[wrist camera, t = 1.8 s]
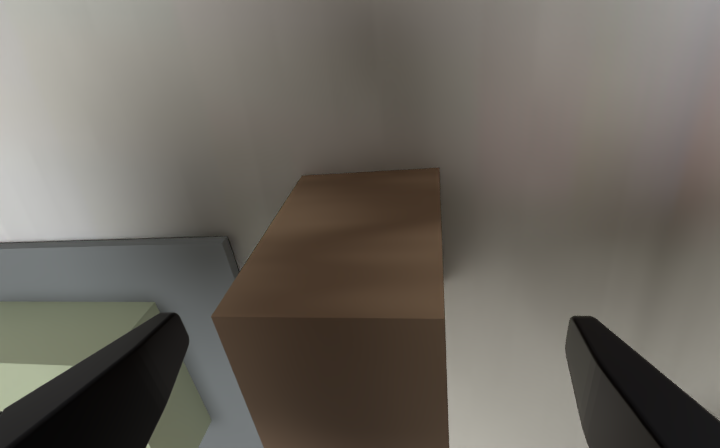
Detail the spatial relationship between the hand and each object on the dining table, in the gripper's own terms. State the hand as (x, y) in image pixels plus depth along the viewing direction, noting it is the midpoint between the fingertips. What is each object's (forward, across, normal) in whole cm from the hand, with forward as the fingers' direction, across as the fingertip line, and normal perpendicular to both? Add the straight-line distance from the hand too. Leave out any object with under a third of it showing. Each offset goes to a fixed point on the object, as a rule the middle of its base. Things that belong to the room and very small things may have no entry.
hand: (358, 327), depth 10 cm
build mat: (+4, +11, +6) cm, 13 cm away
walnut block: (+4, 0, 0) cm, 4 cm away
